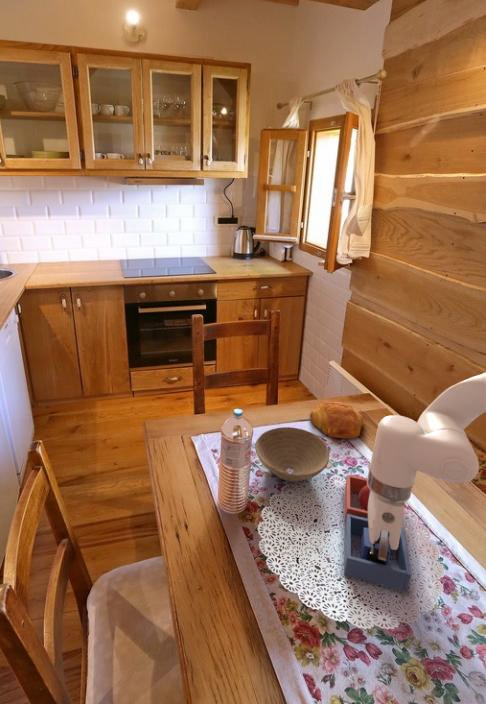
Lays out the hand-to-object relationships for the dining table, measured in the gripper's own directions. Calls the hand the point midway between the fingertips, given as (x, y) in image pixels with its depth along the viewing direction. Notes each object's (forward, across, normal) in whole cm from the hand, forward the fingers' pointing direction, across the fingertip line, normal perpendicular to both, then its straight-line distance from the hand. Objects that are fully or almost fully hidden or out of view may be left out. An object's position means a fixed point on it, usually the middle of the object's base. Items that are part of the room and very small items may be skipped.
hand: (373, 555), depth 80 cm
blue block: (0, 0, 0) cm, 0 cm away
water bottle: (+2, +5, +30) cm, 30 cm away
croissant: (+2, +45, +8) cm, 46 cm away
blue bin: (+2, 0, 0) cm, 2 cm away
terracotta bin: (+2, +12, 0) cm, 13 cm away
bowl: (+2, +20, +19) cm, 28 cm away
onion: (+1, +12, 0) cm, 13 cm away
